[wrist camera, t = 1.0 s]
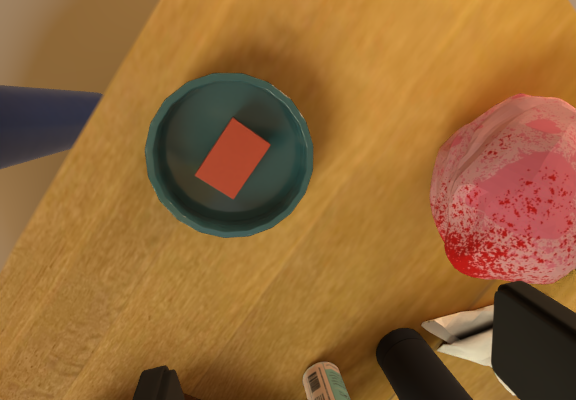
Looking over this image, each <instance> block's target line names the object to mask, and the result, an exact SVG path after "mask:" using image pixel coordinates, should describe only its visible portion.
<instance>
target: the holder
mask: <svg viewBox="0 0 576 400" xmlns="http://www.w3.org/2000/svg"><path fill="white" fill-rule="evenodd" d="M183 395H184V398H185V400H199V399H197V398H194V397H192V396H189V395H187V394H184V393H183Z"/></svg>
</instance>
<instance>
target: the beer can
mask: <svg viewBox="0 0 576 400" xmlns="http://www.w3.org/2000/svg"><path fill="white" fill-rule="evenodd" d="M303 385H304V387H305V391H306V395H307V399H308V400H350V397H349V395H348V392H347V390H346V387H345V385H344V382H343V380H342V377H341V375H340V371H339V369H338V367H337V366H336V365H334V364H332V363H330V362H319V363H316V364H314V365H313V366H311V367H309V368H308V369H307V371H306V372H305V374H304V376H303Z"/></svg>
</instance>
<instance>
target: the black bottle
mask: <svg viewBox="0 0 576 400" xmlns="http://www.w3.org/2000/svg"><path fill="white" fill-rule="evenodd" d="M376 357H377V361H378V363H379V365H380V366H381V368H382V370H383V372H384V373H385V375H386V377H387V379H388V380H389V382H390V384H391V386H392V387H393V389H394V391H395V393H396V395H397V396H398V398H399V400H473V399H472V398H471V397H470V396H469V394H468V393H467V392H466V391H465V389H464V388H463V387H462V386H461V385H460V383H459V382H458V381H457V380H456V378H455V377H454V376H453V375H452V373H451V372H450V371H449V370H448V369H447V367H446V366H445V365H444V364H443V362H442V361H441V360H440V359H439V357H438V356H437V355H436V354H435V353H434V351H433V350H432V349H431V348H430V346H429V345H428V344H427V343H426V341H425V340H424V339H423V338H422V337H421V335H420V334H419V333H418V332H416V331H415V330H412V329H409V328H401V329H397V330H394V331H392V332H390V333H389V334H387V335H386V336H385V337H384V338H383V339H382V340H381V341H380V343H379V345H378V347H377V351H376Z"/></svg>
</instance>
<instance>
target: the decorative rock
mask: <svg viewBox="0 0 576 400" xmlns="http://www.w3.org/2000/svg"><path fill="white" fill-rule="evenodd" d="M430 205H431V210H432V215H433V218H434V221H435V224H436V227H437V229H438V231H439V234H440V236H441V238H442V239H443V241H444V243H445V245H444V247H445V252H446V255H447V257H448V259H449V261H450V262H451V263H452V265H453V266H454V268H455V269H457V270H458V271H459V272H461V273H463V274H466V275H468V276H471V277H475V278H481V279H501V280H506V281H511V282H515V281H524V282H526V283H532V284H550V283H554V282H556V281H557V280H559V279H561V278H562V277H564V276H566V275H567V274H568V273H569V272H570V271H571V270H573V269H576V109H575V108H574V107H573V106H571V105H570V104H568V103H567V102H565V101H563V100H562V99H559V98H554V97H539V96H530V95H525V94H521V93H520V94H517V95H514V96H512V97H509V98H507V99H506V100H504V101H503V102H501V103H499V104H496V105H495V106H493V107H492V108H490V109H489V110H488V111H487V112H485V113H484V114H482V115H481V116H479V117H478V118H476V119H475V120H474V121H472V122H471V123H470V124H466V125H465V126H463V127H461V128H460V129H458V130H457V131H456V132H455V133H454V134H453V135H452V136H451V137H450V138H449V139H448V140H447V141H446V142H445V143H444V144H443V145H442V146H441V147H440V149H439V152H438V155H437V158H436V162H435V166H434V170H433V175H432V181H431V188H430Z"/></svg>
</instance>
